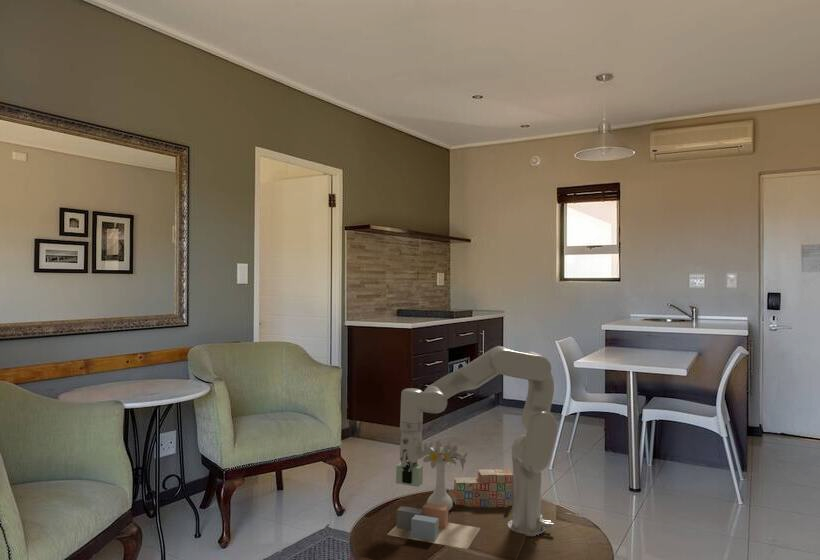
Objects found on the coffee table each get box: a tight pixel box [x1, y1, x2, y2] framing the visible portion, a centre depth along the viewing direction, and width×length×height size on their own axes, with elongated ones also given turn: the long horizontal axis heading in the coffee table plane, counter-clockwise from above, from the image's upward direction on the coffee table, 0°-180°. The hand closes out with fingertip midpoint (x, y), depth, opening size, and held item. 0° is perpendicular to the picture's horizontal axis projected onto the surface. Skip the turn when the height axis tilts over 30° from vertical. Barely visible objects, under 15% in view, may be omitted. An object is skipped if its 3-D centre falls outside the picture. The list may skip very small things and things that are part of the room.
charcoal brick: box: [396, 505, 423, 530], centre depth 200 cm, size 8×4×6 cm, turn 70°
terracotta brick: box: [422, 502, 450, 528], centre depth 203 cm, size 8×4×6 cm, turn 70°
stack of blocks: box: [453, 468, 513, 508], centre depth 225 cm, size 21×6×12 cm, turn 93°
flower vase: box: [420, 440, 469, 511], centre depth 216 cm, size 13×18×25 cm
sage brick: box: [395, 461, 424, 488], centre depth 200 cm, size 8×4×6 cm, turn 70°
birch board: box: [386, 522, 481, 550], centre depth 197 cm, size 27×17×1 cm, turn 70°
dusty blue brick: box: [411, 515, 439, 542], centre depth 193 cm, size 8×4×6 cm, turn 70°
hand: (409, 480), depth 200 cm, fingers closed on sage brick, 4 cm apart
